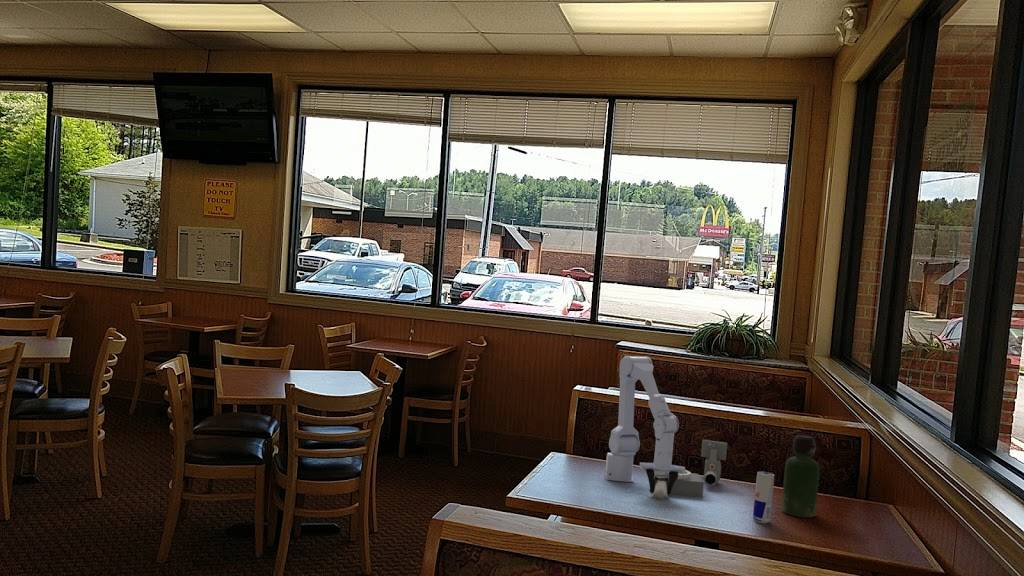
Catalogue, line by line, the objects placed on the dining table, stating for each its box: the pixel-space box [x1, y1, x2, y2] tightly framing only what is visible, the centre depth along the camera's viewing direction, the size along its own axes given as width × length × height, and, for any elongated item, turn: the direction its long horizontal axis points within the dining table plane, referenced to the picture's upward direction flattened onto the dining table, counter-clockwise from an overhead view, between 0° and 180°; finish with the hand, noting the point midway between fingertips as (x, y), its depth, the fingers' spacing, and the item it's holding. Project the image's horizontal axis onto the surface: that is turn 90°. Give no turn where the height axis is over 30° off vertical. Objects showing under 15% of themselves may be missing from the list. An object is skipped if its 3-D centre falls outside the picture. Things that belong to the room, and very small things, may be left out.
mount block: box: [653, 469, 705, 498], centre depth 276 cm, size 16×11×6 cm
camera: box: [700, 439, 728, 487], centre depth 287 cm, size 9×12×15 cm
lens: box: [651, 476, 669, 501], centre depth 266 cm, size 5×5×7 cm
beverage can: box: [752, 471, 775, 524], centre depth 248 cm, size 5×5×15 cm
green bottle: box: [780, 434, 821, 519], centre depth 260 cm, size 10×10×25 cm
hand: (659, 493), depth 266 cm, fingers closed on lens, 5 cm apart
